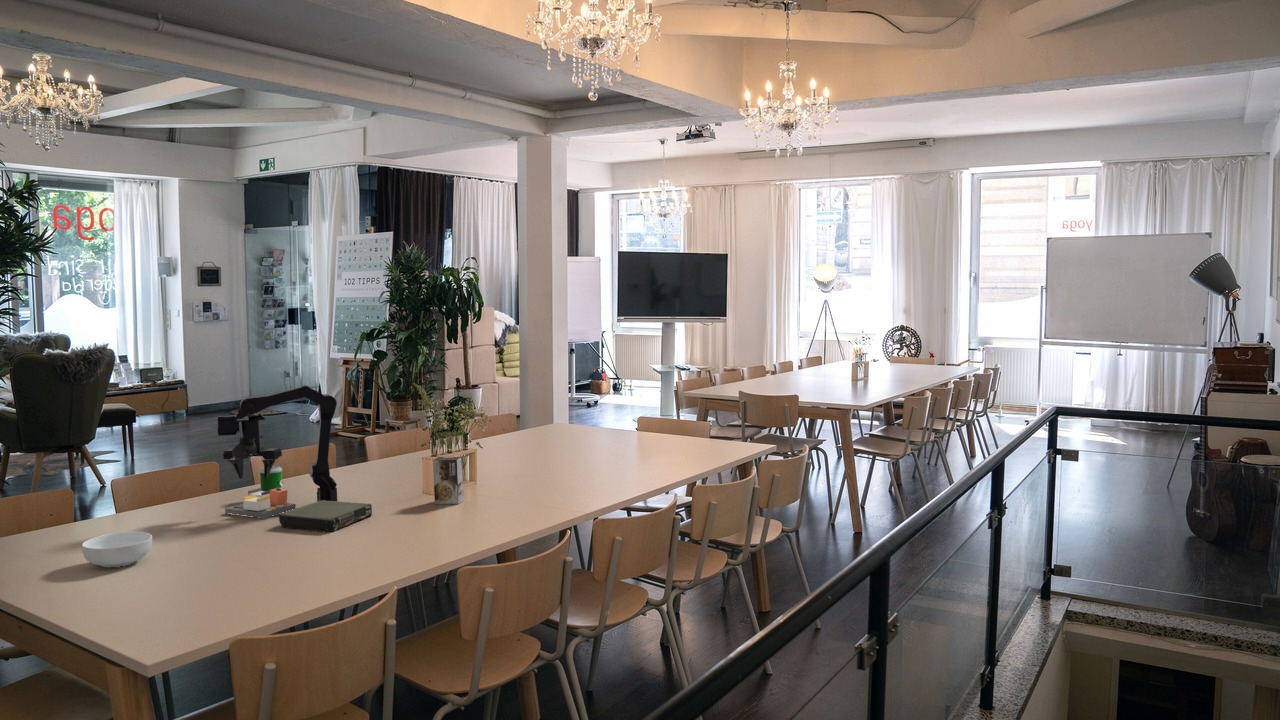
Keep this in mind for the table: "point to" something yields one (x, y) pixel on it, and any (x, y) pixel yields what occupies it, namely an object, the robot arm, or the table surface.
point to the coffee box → (448, 480)
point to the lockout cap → (278, 496)
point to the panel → (262, 513)
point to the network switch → (325, 515)
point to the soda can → (271, 479)
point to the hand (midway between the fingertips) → (253, 478)
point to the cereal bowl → (117, 548)
